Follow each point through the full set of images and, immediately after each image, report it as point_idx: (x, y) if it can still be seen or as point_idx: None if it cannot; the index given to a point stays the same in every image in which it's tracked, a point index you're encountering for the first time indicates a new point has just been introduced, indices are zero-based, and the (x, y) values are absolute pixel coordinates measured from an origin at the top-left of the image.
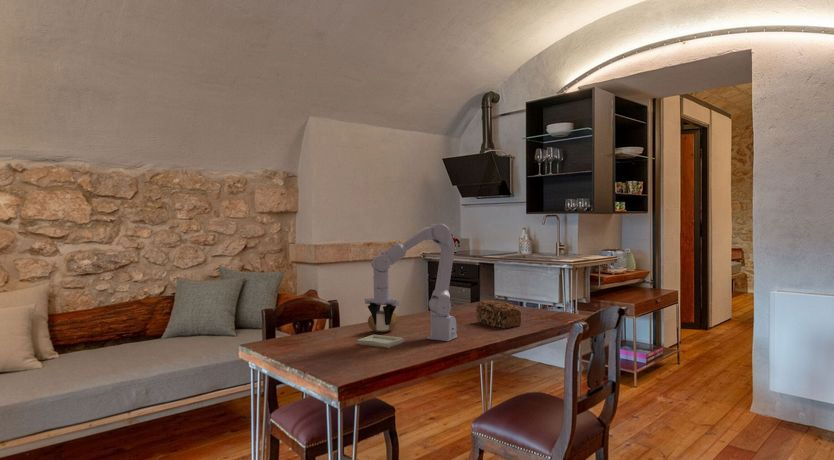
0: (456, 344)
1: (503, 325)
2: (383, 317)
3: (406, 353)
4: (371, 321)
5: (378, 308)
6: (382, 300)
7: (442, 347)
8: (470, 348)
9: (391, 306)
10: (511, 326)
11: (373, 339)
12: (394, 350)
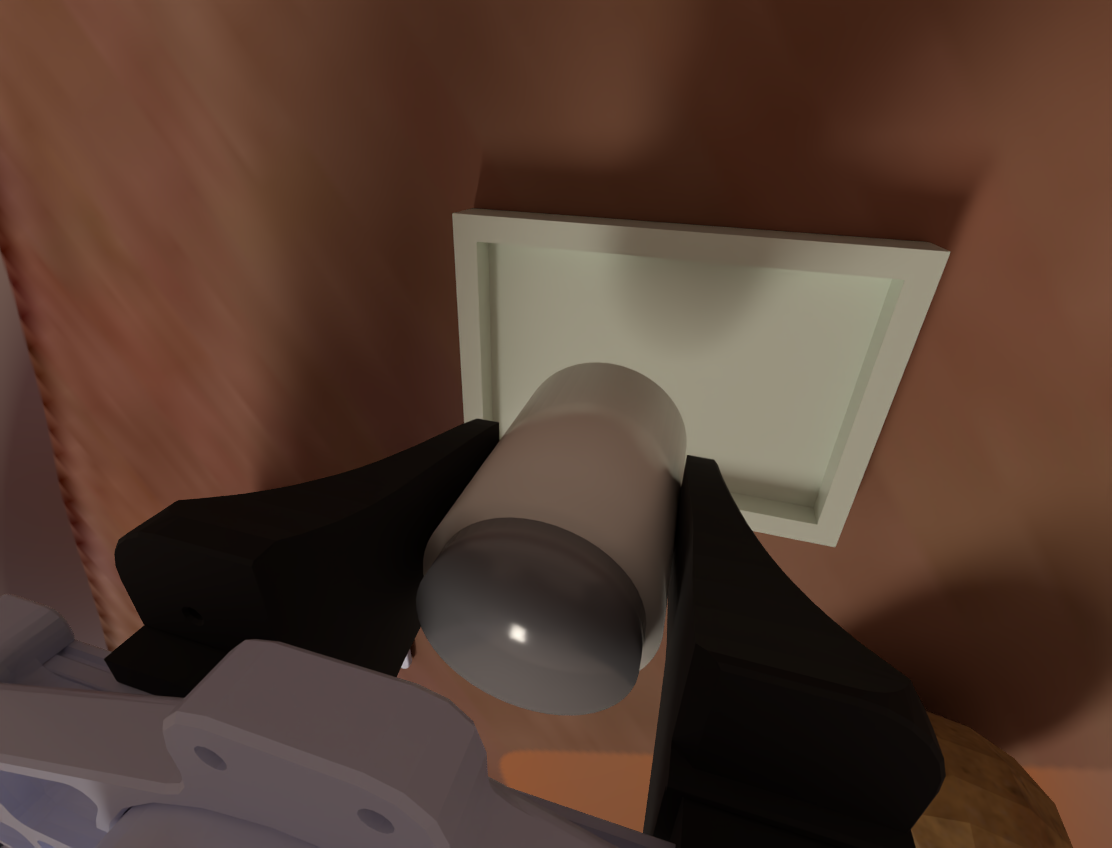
0: (177, 482)
1: None
2: (476, 478)
3: (216, 101)
4: (981, 784)
5: (657, 752)
6: (133, 819)
7: (176, 392)
8: (62, 417)
9: (150, 627)
10: None
11: (782, 437)
12: (370, 156)
